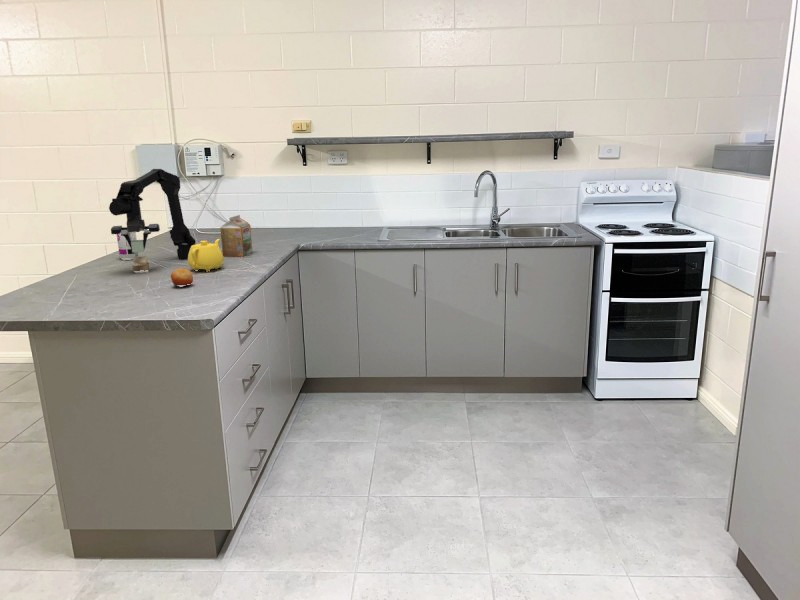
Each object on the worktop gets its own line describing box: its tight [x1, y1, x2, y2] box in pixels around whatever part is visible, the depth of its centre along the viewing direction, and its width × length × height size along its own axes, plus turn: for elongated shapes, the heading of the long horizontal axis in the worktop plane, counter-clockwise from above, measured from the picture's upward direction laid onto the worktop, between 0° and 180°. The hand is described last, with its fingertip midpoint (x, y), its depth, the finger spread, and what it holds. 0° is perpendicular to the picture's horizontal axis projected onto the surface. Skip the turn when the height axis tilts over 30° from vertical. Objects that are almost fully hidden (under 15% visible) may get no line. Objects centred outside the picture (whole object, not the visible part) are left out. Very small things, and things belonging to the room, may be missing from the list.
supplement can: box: [116, 232, 140, 258], centre depth 291 cm, size 8×8×15 cm
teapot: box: [187, 238, 224, 271], centre depth 266 cm, size 14×20×13 cm
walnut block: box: [132, 262, 150, 272], centre depth 264 cm, size 6×6×4 cm
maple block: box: [132, 255, 149, 266], centre depth 264 cm, size 5×5×3 cm
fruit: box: [170, 267, 194, 286], centre depth 237 cm, size 8×8×8 cm
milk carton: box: [219, 214, 254, 258], centre depth 296 cm, size 11×11×19 cm
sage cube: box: [131, 239, 146, 253], centre depth 262 cm, size 4×4×4 cm
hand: (138, 248), depth 262 cm, fingers closed on sage cube, 4 cm apart
